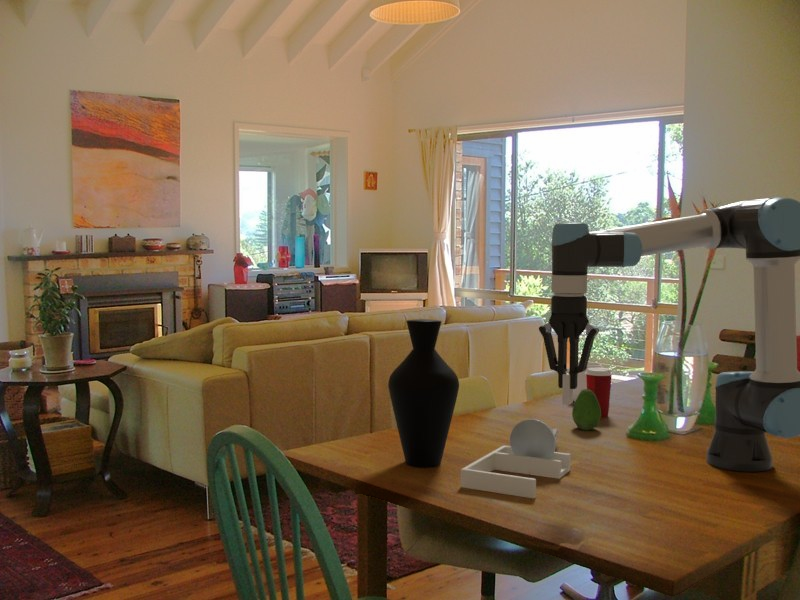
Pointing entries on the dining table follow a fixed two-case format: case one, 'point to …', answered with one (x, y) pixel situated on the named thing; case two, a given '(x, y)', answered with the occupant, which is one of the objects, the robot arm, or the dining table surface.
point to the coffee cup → (600, 386)
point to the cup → (583, 379)
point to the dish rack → (506, 460)
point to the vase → (423, 397)
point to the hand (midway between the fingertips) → (567, 403)
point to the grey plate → (533, 439)
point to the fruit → (586, 410)
